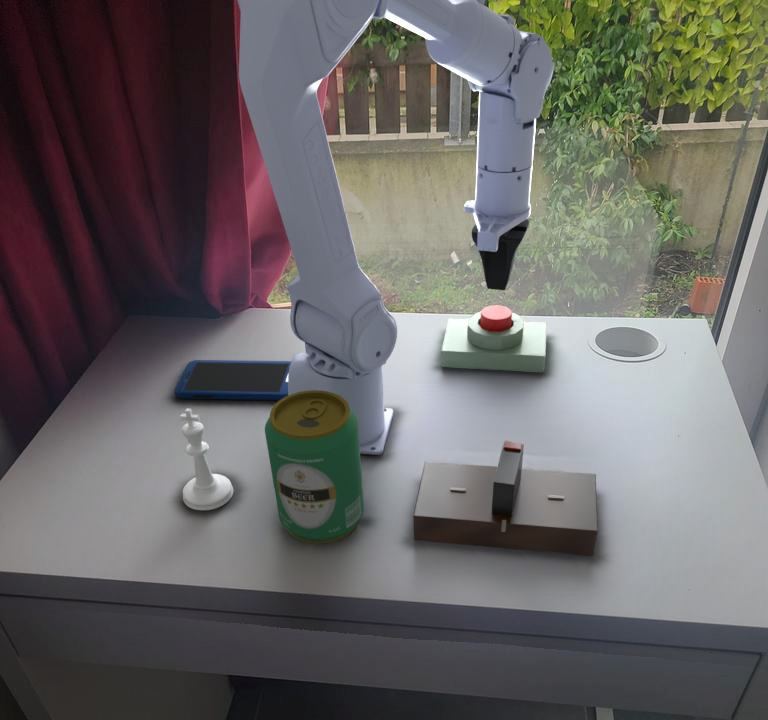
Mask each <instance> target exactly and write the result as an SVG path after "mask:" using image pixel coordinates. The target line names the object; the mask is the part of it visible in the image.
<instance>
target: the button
mask: <svg viewBox="0 0 768 720" xmlns="http://www.w3.org/2000/svg"><path fill="white" fill-rule="evenodd" d="M480 312H481V323H480V326H481V328H482V329H484V330H487V331H494V332H501V331H505V330H508V329H510V328H511V321H512V313H513V311H512V310H511V308H509V307H507V306H504V305H498V304H494V305H488V306H487V305H486V306H485V307H483V308H482V309H481V311H480Z"/></svg>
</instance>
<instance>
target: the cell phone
mask: <svg viewBox="0 0 768 720" xmlns="http://www.w3.org/2000/svg"><path fill="white" fill-rule="evenodd" d="M291 361H292V360H224V359H223V360H221V359H220V360H219V359H217V360H215V359H205V360H204V359H195V360H191V361H189V362H188V363H187V364H186V366H185V368H184V371H183V372H182V374H181V376H180V378H179V380H178V381H177V384H176V386H175V387H174V391H173V392H174V396H175V397H176V398H179V399H191V400H193V399H195V400H248V401H249V400H253V401H254V400H255V401H280V400H281V399H282V398H284V397H286V396H288V376H289V369H290V364H291Z"/></svg>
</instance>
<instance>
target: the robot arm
mask: <svg viewBox="0 0 768 720" xmlns="http://www.w3.org/2000/svg"><path fill="white" fill-rule="evenodd" d="M236 2H237V4H238V7H239V11H240V23H239V25H240V26H239V54H238V57H239V58H238V79H239V85H240V90H241V93H242V95H243V99H244V102H245V106H246V108H247V109H246V110H247V112H248V115H249V119H250V121H251V125H252V128H253V132H254V134H255V138H256V141H257V143H258V144H257V145H258V147H259V149H260V153H261V156H262V160H263V163H264V166H265V168H266V173H267V176H268V179H269V182H270V185H271V189H272V192H273V195H274V198H275V202H276V205H277V208H278V211H279V214H280V218H281V221H282V225H283V227H284V230H285V234H286V237H287V240H288V244H289V246H290V250H291V253H292V257H293V259H294V262H295V266H296V269H297V272H298V274H297V275H296V276H295V277H294V278H293V280H292V281H291V282H290V283H289V285H288V286H287V291H288V294H289V298H290V305H291V306H290V315H289V322H290V327H291V330H292V332H293V334H294V336H295V337H296V338H297V339H298V340H300V342H301V341H302V342H303V343H304V349H305V352H299V353H295V354H294V355H293V357H292V359H291V360H290V361H291V364H290V369H289V376H288V395H291V394H294V393H297V392H302V391H309V390H319V391H327V392H331V393H334V394H337V395H339V396H341V397H342V398H343V399H345V400H346V402H347V403H348V405H349V408H350V409H351V410H352V411H353V412H354V413H355V415H356V417H357V421H358V432H359V446H360V455H377V456H378V455H382V454H383V452H384V449H385V445H386V441H387V438H388V436H389V435H388V434H389V431H390V427H391V423H392V420H393V417H394V409H393V408H390V407H385V400H384V397H385V396H384V380H383V379H384V376H383V366H384V365H386V363H387V361H388V360H389V358H390V357H391V355H392V353H393V352H394V349H395V347H396V343H397V338H398V325H397V322H396V319H395V317H394V315H393V314H391V312H390V311H389V310H387V308H386V306H385V304H384V301H383V296H382V293H381V292H380V290H379V289H378V287H376V285H375V284H374V283H373V282H372V281H371V279H370V278H369V277H368V276H367V275H366V273H365V272H364V271H363V270H362V268H361V267H360V265H359V262H358V257H357V253H356V249H355V244H354V241H353V235H352V233H351V229H350V225H349V220H348V216H347V212H346V209H345V203H344V199H343V196H342V192H341V187H340V184H339V179H338V176H337V171H336V167H335V163H334V159H333V155H332V151H331V147H330V143H329V139H328V135H327V131H326V127H325V122H324V119H323V114H322V111H321V106H320V102H319V99H318V92H317V91H318V88H319V86H320V84H321V83H322V81H323V79H325V78H327V77H328V76H329V75H331V73H332V72H333V71H334V70H335V68H336V66H337V65H339V63H340V62H341V60H342V59H343V58H344V57H345V56H346V54H347V53H348V51H349V50H350V49H351V48H352V47H353V46H354V44H355V43H356V41H357V40H358V39H359V38H360V36H362V34H363V33H364V32H365V30H366V29H367V28H368V26H369V25H370V23H371V21H372V20H373V19H377V20H382V19H383V18H384V19H387V20H388V21H391V22H393V23H394V24H397V25H399V26H400V27H403V28H404V29H407V30H408V31H410V32H413V33H415V34H417V35H418V36H421V37H423V38H424V39H425V47H426V50H427V53H428V55H429V57H430V58H431V59H432V60H433V61H434V62H435V63H437V64H438V65H440V66H442V67H444V68H446V69H447V70H449V71H450V72H453V73H455V74H456V75H458V76H460V77H462V78H464V79H465V80H467V83H468V85H469V88H470V90H472V92H479V94H478V118H477V141H476V143H477V144H476V167H475V168H476V170H475V171H476V172H475V195H474V197H475V199H474V200H473V199H472V200H471V199H470V200H467V201H466V202H465V203H464V204H463V212H464V213H465V214H470V215H472V216H473V218H474V221H475V223H474V225H473V226H472V229H471V239H472V241H473V243H474V245H475V246H476V250H477V252H478V253H479V256H480V260H481V263H482V269H483V275H484V281H485V284H486V288H487V289H488V290H496V291H505V290H506V288H507V287H508V284H509V281H510V278H511V275H512V271H513V267H514V264H515V259H516V255H517V252H518V250H519V246H520V245H521V243H522V241H523V240H524V237H525V235H526V233H527V231H528V229H529V226H530V220H529V218H530V216H531V211H532V206H531V203H530V200H531V199H530V198H531V186H532V176H533V175H532V174H533V162H534V153H535V152H534V151H535V140H536V139H535V138H536V126H537V119H538V118H540V116H541V112H542V111H543V108H544V107H543V106H544V98H545V95H546V92H547V90H548V88H549V86H550V84H551V81H552V78H553V74H554V70H555V62H554V61H553V56H552V52H551V49H550V46H549V45H548V44H547V42H546V40H545V39H544V37H543V36H542V35H540V34H538V33H534V32H528V31H522V30H519V28H518V27H516V26H515V19H514V18H513V17H512V16H510V15H508V14H503V13H500V14H498V13H496V12H495V11H494V10H492V9H490V7H488V6H486V5H485V3H486V0H237V1H236Z"/></svg>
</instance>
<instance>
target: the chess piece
mask: <svg viewBox="0 0 768 720" xmlns="http://www.w3.org/2000/svg"><path fill="white" fill-rule="evenodd" d="M179 418H180V421H185V422H187V423H185V424H184V425H183V426H182V427H181V433H182V435H183V437H185V438H186V441H187V442H188V444H187V446H186V449H185V453H186V454H187V455H188V456H190V457H193V461H194V470H195V477H194V478H192V479H190V480H189V481H188V482H187V483H186V484H185V485H184V487H183V489H182V500H183V503H184V505H186V507H188V508H189V509H192V510H195V511H211V510H215V509H218V508H220V507H222V506H224V505H226V504H227V503H228V502H229V501H230V500H231V499H232V497H233V495H234V487H233V485H232V483H231V480H230V479H229V478H227V476H225V475H223V474H219V473H212V470H211V468H210V465H209V463H208V460H207V458H206V454H207V453H208V452H209V450H210V446H209V444H208V443H207V442H206V441H203V436H204V431H205V429H204V428H205V427H204V424H203V423H201V422H200V421H201V417H200V414H193V410H192V408H188V407H187V408H186V409H185V410H184V413H181V414H180V416H179Z"/></svg>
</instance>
